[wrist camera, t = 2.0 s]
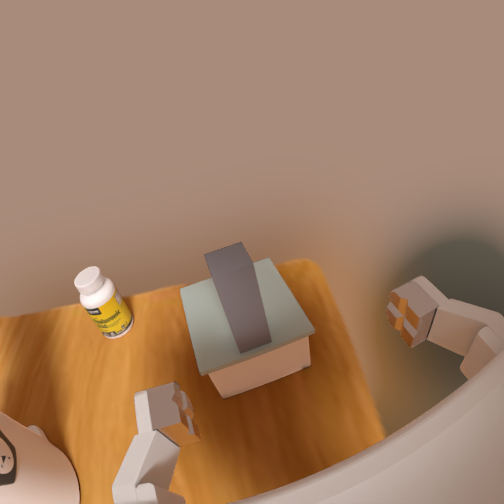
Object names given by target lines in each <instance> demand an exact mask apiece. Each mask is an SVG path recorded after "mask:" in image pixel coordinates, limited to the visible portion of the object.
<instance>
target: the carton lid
mask: <svg viewBox="0 0 504 504" xmlns="http://www.w3.org/2000/svg"><path fill="white" fill-rule="evenodd" d="M204 256H205V259H206V262H207V265H208V267H209V270H210V273H211V276H212V278H209V279H206V280H203V281H201V282H198V283H195V284H192V285H189V286H186V287H184V288H181V289H180V292H181V297H182V302H183V306H184V311H185V315H186V320H187V324H188V329H189V333H190V337H191V341H192V345H193V349H194V353H195V357H196V361H197V365H198V369H199V373H200V374H201V376H203V375H206V374H209V373H212V372H215V371H218V370H221V369H224V368H227V367H230V366H232V365H235V364H238V363H241V362H244V361H246V360H249V359H252V358H254V357H257V356H260V355H262V354H265V353H268V352H270V351H273V350H275V349H278V348H280V347H283V346H285V345H288V344H290V343H293V342H295V341H298V340H300V339H302V338H305V337H307V336H310V335H312V334H314V333H315V328H314V327H313V325H312V324H311V322H310V321H309V319H308V317H307V316H306V314H305V313H304V311H303V310H302V308H301V306H300V305H299V303H298V302H297V300H296V299H295V297H294V295H293V294H292V292H291V291H290V289H289V288H288V286H287V285H286V283H285V281H284V280H283V278H282V277H281V275H280V274H279V272H278V270H277V269H276V267H275V266H274V264H273V263H272V261H271V260H270V258H269V257H268V258H266V259H263V260H260V261H257V262H254V263H253V262H252V260H251V259H250V257H249V255H248V253H247V251H246V249H245V248H244V246H243V244H242V242H239V243H236V244H233V245H230V246H227V247H224V248H221V249H219V250H216V251H213V252H210V253H207V254H205V255H204Z"/></svg>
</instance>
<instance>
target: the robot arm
mask: <svg viewBox="0 0 504 504" xmlns="http://www.w3.org/2000/svg"><path fill="white" fill-rule="evenodd" d="M388 299H389V300H390V303H389V305H388V306H387V312H386V314H387V317H388V320H389V322H390V324H391V325H392V326H393V327H394V329H397V330H400V331H401V337H402V338H403V340H404V341H405V342H406V343H407V344H408V346H409V347H410V348H412V347H414V346H415V345H417V344H419V343H420V342H422V341H424V340H425V339H427V340H429V341H431V342H433V343H436V344H438V345H440V346H442V347H444V348H447V349H449V350H451V351H453V352H455V353H458V354H460V355H462V356H464V357H465V358H464V360H463V362H462V364H461V366H460V370H461V371H462V372H463V374H464V375H465V376H466V377H467V378H468V381H467V382H466V383H464V384H463V385H462V386H461V387H459V388H458V389H457V390H456V391H454V392H453V393H452V394H450V395H449V396H448V397H446V398H445V399H444V400H442V401H441V402H440V403H439V404H437V405H436V406H434V407H433V408H432V409H430V410H429V411H427V412H426V413H424V414H423V415H421V416H420V417H418V418H417V419H415V420H414V421H412V422H411V423H409V424H408V425H406V426H404V427H403V428H401V429H400V430H398V431H396V432H395V433H393V434H391V435H390V436H388V437H386V438H385V439H383V440H381V441H379V442H378V443H376V444H374V445H372V446H370V447H369V448H367V449H365V450H363V451H361V452H359V453H357V454H355V455H353V456H351V457H349V458H347V459H345V460H343V461H341V462H339V463H337V464H335V465H333V466H331V467H328V468H326V469H324V470H322V471H319V472H317V473H315V474H312V475H310V476H308V477H305V478H303V479H300V480H298V481H295V482H293V483H290V484H287V485H285V486H282V487H279V488H276V489H273V490H271V491H268V492H265V493H261V494H258V495H255V496H252V497H249V498H245V499H242V500H238V501H235V502H231V503H227V504H504V317H503V316H502V315H501V314H500V313H497V312H494V311H491V310H488V309H484V308H481V307H477V306H474V305H471V304H467V303H464V302H461V301H458V300H454V299H450V300H448V299H447V298H446V297H445V296H444V295H443V294H442V293H441V292H440V291H439V290H438V289H437V288H436V287H435V286H434V285H432V284H431V283H430V282H429V281H428V280H427V279H426V278H425V277H423V276H419V277H417V278H415V279H414V280H412V281H410V282H407V283H406V284H404V285H402V286H400V287H398V288H397V289H395V290H393V291H391V292H390V293H389V297H388ZM134 402H135V411H136V420H137V428H138V434H137V435H135V436H134V438H133V440H132V442H131V445H130V447H129V449H128V451H127V454H126V456H125V458H124V460H123V463H122V465H121V467H120V469H119V472H118V474H117V476H116V478H115V481H114V483H113V485H112V493H113V499H114V504H186V503H185V500H184V497H182V496H181V495H179V494H176V493H173V492H171V491H168V490H169V487H170V483H171V480H172V476H173V473H174V469H175V466H176V462H177V459H178V455H179V452H180V448H179V447H183V446H186V445H190V444H193V443H196V442H199V441H201V437H200V433H199V430H198V426H197V424H196V423H195V422H194V421H193V420H192V419H193V417H194V415H195V414H194V410H193V407H192V404H191V402H190V399H189V398H188V396H187V394H186V393H185V392H183V391H180V386H179V385H178V384H177V382H176V381H174V382H171V383H168V384H164V385H161V386H157V387H154V388H150V389H146V390H143V391H139V392H136V393H135V396H134ZM79 500H80V495H79V486H78V481H77V477H76V474H75V471H74V469H73V467H72V465H71V463H70V461H69V460H68V458H67V457H66V456H65V454H64V453H63V452H62V451H61V450H59V449H58V448H57V447H55V446H54V445H52V444H51V443H50V442H49V441H48V440H47V438H46V436H45V434H44V432H43V431H42V429H41V428H39V427H37V426H35V425H31V426H28V427H25V426H23V425H22V424H20V423H18V422H17V421H15V420H13V419H12V418H10V417H9V416H7V415H5V414H4V413H2V412H1V411H0V504H79Z"/></svg>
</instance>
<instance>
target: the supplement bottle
mask: <svg viewBox="0 0 504 504" xmlns="http://www.w3.org/2000/svg"><path fill="white" fill-rule="evenodd" d="M74 284H75V286H76V288H77V289H78V291H79V292H80V302H81V304H82V305H83V307H84V308H85V310H86V311H87V313H88V314H89V316H90V317H91V318H92V320H93V321H94V323H95V324H96V325H97V327H98V328H99V329H100V331H101V332H102V333H103V334H104V336H106V337H107V338H110V339H115V338H119V337H122V336H123V335H125V334H126V333H127V332H128V331H129V330H130V329H131V327H132V325H133V315H132V313H131V312H130V310H129V308H128V307H127V305H126V303H125V302H124V300H123V298H122V297H121V295H120V294H119V292H118V290H117V289H116V287H115V285H114V283H113V282H112V281H111V280H110V279H108V278H106V277H104V276H103V274H102V273H101V271H100V269H99V268H98V267H95V266H92V267H88V268H86V269H84V270H83V271H81V272H80V273H79V274H78V275H77V277H76V278H75V281H74Z"/></svg>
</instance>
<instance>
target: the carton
mask: <svg viewBox="0 0 504 504" xmlns="http://www.w3.org/2000/svg"><path fill="white" fill-rule="evenodd" d="M309 366H311V362H310V349H309V337H308V336H307V337H305V338H302V339H300V340H298V341H295V342H293V343H290V344H288V345H285V346H283V347H280V348H278V349H275V350H273V351H270V352H268V353H265V354H262V355H260V356H257V357H254V358H252V359H249V360H246V361H244V362H241V363H238V364H235V365H232V366H230V367H227V368H224V369H221V370H218V371H215V372H212V373H209V374H208V375H209V377H210V378H211V380H212V382H213V383H214V385H215V387H216V388H217V390H218V392H219V393H220V395H221V397H222V398H223V399H225V398H228V397H231V396H234V395H237V394H240V393H242V392H245V391H248V390H251V389H253V388H256V387H259V386H262V385H264V384H267V383H269V382H272V381H275V380H277V379H280V378H282V377H285V376H287V375H290V374H292V373H294V372H297V371H299V370H302V369H304V368H306V367H309Z"/></svg>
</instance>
